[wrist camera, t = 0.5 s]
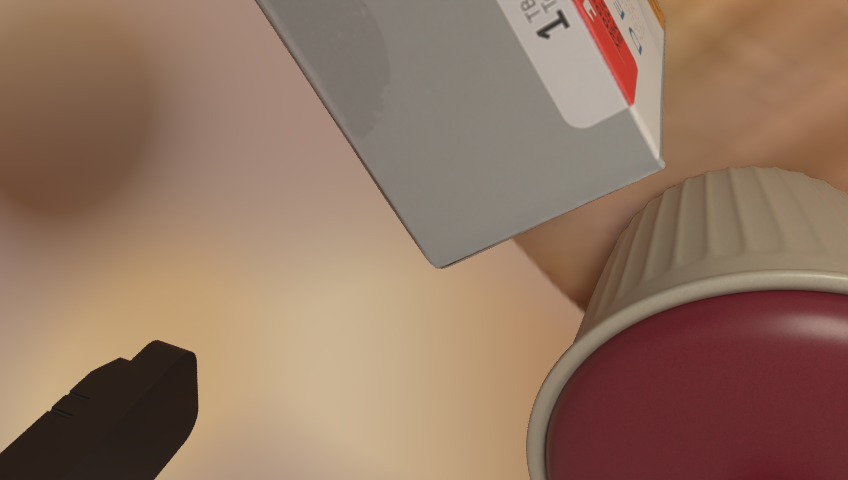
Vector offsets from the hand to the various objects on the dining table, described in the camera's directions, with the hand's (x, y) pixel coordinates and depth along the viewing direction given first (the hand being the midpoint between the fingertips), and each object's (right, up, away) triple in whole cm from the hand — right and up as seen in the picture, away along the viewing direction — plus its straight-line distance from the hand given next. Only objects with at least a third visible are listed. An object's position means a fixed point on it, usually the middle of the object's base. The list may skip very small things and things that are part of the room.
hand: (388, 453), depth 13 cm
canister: (+18, +3, +26) cm, 32 cm away
